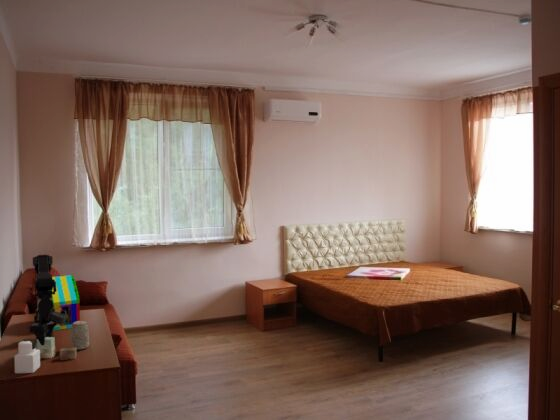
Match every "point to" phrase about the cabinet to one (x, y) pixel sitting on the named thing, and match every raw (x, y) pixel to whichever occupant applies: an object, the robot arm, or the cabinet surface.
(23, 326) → the cabinet surface
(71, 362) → the cabinet surface
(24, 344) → the medicine bottle
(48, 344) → the sage brick
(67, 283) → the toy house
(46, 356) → the birch brick
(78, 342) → the carving
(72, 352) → the walnut brick
